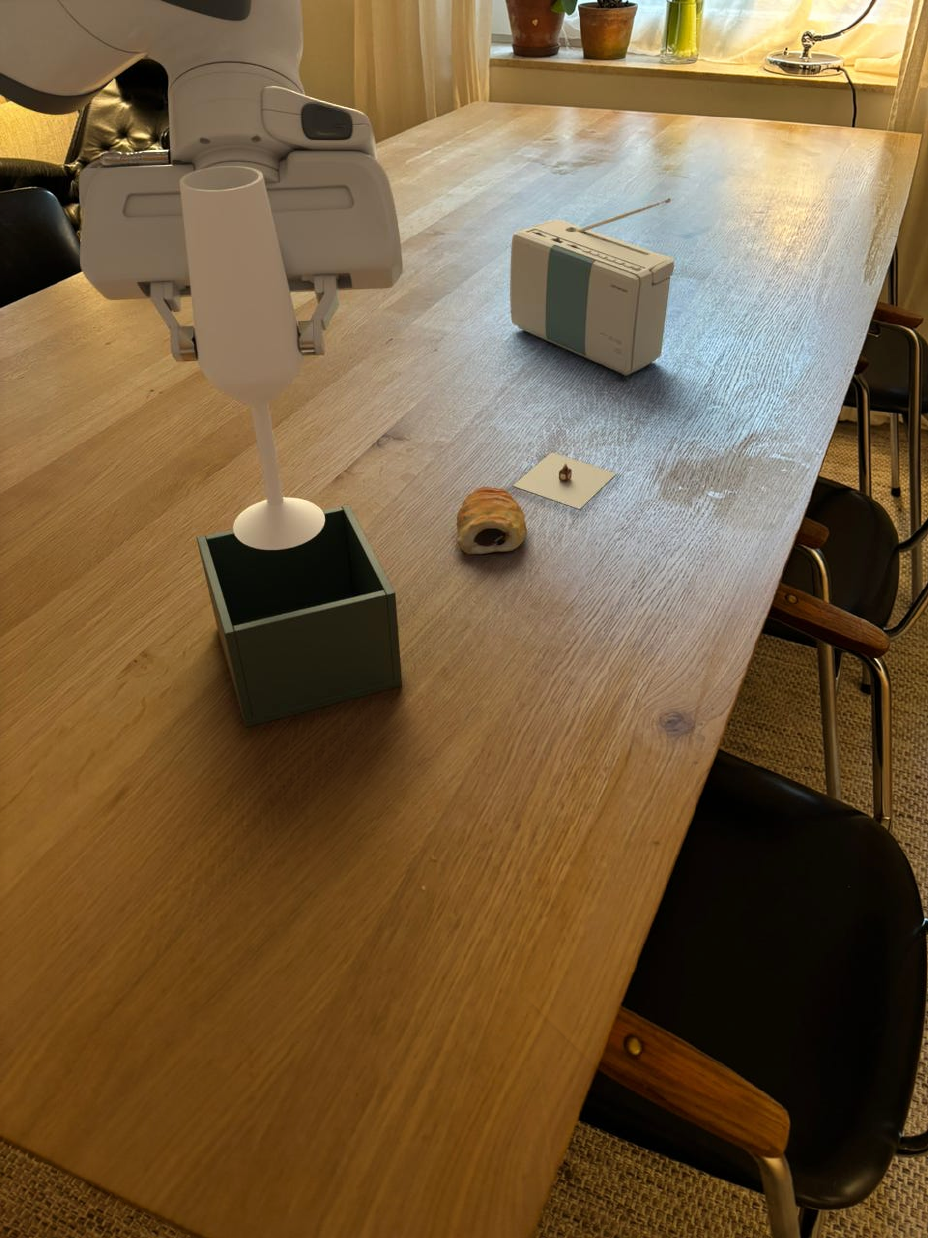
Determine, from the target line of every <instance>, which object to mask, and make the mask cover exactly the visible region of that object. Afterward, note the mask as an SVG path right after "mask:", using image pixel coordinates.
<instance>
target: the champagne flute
mask: <svg viewBox="0 0 928 1238" xmlns="http://www.w3.org/2000/svg"><path fill="white" fill-rule="evenodd" d="M180 192H181V201H182V211H183V220H184V230H185V240H186V249H187V259H188V268H189V278H190V288H191V297H190V298H191V305H192V316H193V323H194V325H193V327H194V328H195V336H196V345H197V355H198V361H197V364H198V366H199V368H200V371H201V373H202V374H203V375H204V377H205V378H206V379H207V380H208V381H209V382H210V383H211V384H212V385H213V386H214V387H215V388H216V389H217V390H218V391H220V393H223V394H225V395H226V396H228V397H230V398H231V399H233V400H235V401H236V402H238V403H240V404H241V405H244V406H247V407H248V406H249V407H250V410H251V417H252V422H253V428H254V434H255V438H256V445H257V451H258V456H259V461H260V468H261V473H262V479H263V485H264V491H265V497H266V499H264V500H261V501H259V502H256V503H254V504H252V505H250V506H248V507H247V508H245V509H244V510H242V511H241V512H240V513H239V514H238V516H236V518H235V520H234V522H233V525H232V529H233V531H234V534H235V536H236V537H237V539H238V540H239V541H241V542H242V543H243V544H245V545H248V546H250V547H253V548H257V549H264V550H280V549H287V548H291V547H295V546H298V545H301V544H303V543H305V542H307V541H309V540H311V539H312V538H313V537H315V536H316V535H317V534H318V533H319V532H320V531H321V529H322V528H323V526H324V523H325V516H324V513H323V511H322V510H323V509H321V508H320V506H318V505H316V503H314V502H311V501H309V500H306V499H303V498H297V497H287V496H284V492H283V486H282V480H281V475H280V467H279V462H278V455H277V449H276V444H275V437H274V432H273V425H272V424H273V423H272V420H271V411H270V406H269V404H271V403H273V402H274V401H276V400H277V399H278V398H279V397H280V396H281V395H282V394H283V393H284V392H285V391H286V389H288V387H289V386H290V385H291V384H292V383H293V382H294V380H295V378H296V377H297V375H298V373H299V371H300V369H301V366H302V364H303V360H304V356H303V355H302V352H300V347H299V337H300V335H299V331H298V320H297V316H296V312H295V309H294V304H293V300H292V295H291V292H290V290H289V286H288V282H287V277H286V273H285V269H284V264H283V260H282V256H281V251H280V247H279V243H278V238H277V234H276V230H275V225H274V221H273V217H272V212H271V208H270V204H269V199H268V195H267V191H266V186H265V182H264V178H263V174H262V173H261V172H260V171H259V170H256V169H254V168H249V167H243V166H219V167H210V168H205V169H201V170H197V171H194V172H191V173H188V174H186V175H185V176H183V177H182V178H181V179H180Z"/></svg>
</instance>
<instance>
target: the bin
mask: <svg viewBox="0 0 928 1238" xmlns="http://www.w3.org/2000/svg"><path fill="white" fill-rule="evenodd" d="M321 510H322V511H323V513H324V516H325V523H324V526H323V528H322V529H321V531H320V532H319V533H318V534H317V535H316V536H315V537H313V538H312V539H311V540H309V541H307V542H305V543H303V544H301V545H298V546H295V547H291V548H287V549H280V550H264V549H257V548H253V547H250V546H248V545H245V544H243V543H242V542H241V541H239V540H238V539H237V537H236V536H235V534H234V531H233V528H232V529H227V530H224V531H218V532H215V533H209V534H205V535H201V536H196V542H197V546H198V550H199V554H200V560H201V564H202V569H203V572H204V576H205V577H204V578H205V581H206V585H207V589H208V593H209V598H210V602H211V606H212V611H213V615H214V619H215V625H216V628H217V632H218V635H219V639H220V642H221V646H222V650H223V653H224V657H225V660H226V664H227V668H228V671H229V674H230V678H231V681H232V685H233V688H234V691H235V695H236V698H237V702H238V706H239V710H240V712H241V713H240V714H241V716H242V719H243V722H244V727H245V728H250V727H253V726H258V725H261V724H265V723H269V722H273V721H276V720H281V719H284V718H288V717H292V716H295V715H299V714H302V713H306V712H310V711H315V710H318V709H321V708H324V707H329V706H332V705H336V704H340V703H343V702H347V701H351V700H355V699H358V698H362V697H366V696H370V695H373V694H377V693H381V692H385V691H388V690H391V689H396V688H399V687H402V686H403V676H402V663H401V649H400V636H399V625H398V610H397V609H398V608H397V596H396V595H397V594H396V591H395V589H394V588H393V586H392V583H391V581H390V579H389V577H388V576H387V574H386V572H385V570H384V568H383V566H382V564H381V562H380V561H379V558H378V557H377V555H376V553H375V551H374V549H373V547H372V545H371V543H370V541H369V539H368V538H367V536H366V534H365V531H364V529H363V527H362V525H361V524H360V522H359V520H358V518H357V516H356V514H355V512H354V511H353V508H352V506H351V504H344V505H340V506H336V507H331V508H326V509H321Z"/></svg>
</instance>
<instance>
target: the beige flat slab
mask: <svg viewBox="0 0 928 1238" xmlns="http://www.w3.org/2000/svg"><path fill="white" fill-rule="evenodd" d="M616 475H617V473H616V472H613V471H610V470H606V469H605V468H601V467H598V466H594V465H591V464H589V463H586V462H582V461H580V460H576V459H573V458H570V457H567V456H564V455H561V454H558V453H556V452H550V453H549V454H547V455H546V456H545V457H544V458H543V459H542V460H540V462H538V463H537V464H536V465H535V466H533V467H532V468H531V469H530V470H529V471H528V472H527V473H526V474H524V475H523V476H522V477H521V478H519V479H518V480H517V481H516V482H515V483H514V484H512V486H513V487H515V488H517V489H521V490H523V491H526V492H530V493H533V494H536V495H538V496H540V497H544V498H546V499H549V500H553V501H554V502H557V503H562V504H563V505H567V506H568V507H572V508H575V509H578V510H580V509H582V508H583V507H584V505H586V504H587V503H588V502H589V501H590V500H591V499H592V498H593V497H594V496H595V495H596V494H597V493H599V491H600V490H602V488H603V487H605V485H606V484H607V483H609V482H610V481H611V480H612V479H613V478H614V477H615V476H616Z"/></svg>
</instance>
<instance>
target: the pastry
mask: <svg viewBox="0 0 928 1238" xmlns="http://www.w3.org/2000/svg"><path fill="white" fill-rule="evenodd" d="M456 530H457V539H456V544H457V546H458V547H459V548H460V549H461V550H462V551H463V553H465V554H466V555H467V554H468V555H484V554H490V553H496V552H497V553H498V552H499V553H501V552H502V553H503V552H511V551H514V550H515V549H517V548H518V547H519V546H520V545H522V543H523V541H524V540H525V539H526V536H527V534H528V529H527V524H526V519H525V513H524V512H523V510H522V507H521V506H520V505H519V503H518V501H517V500H515V498H514V497H513V496H512V494H511V493H510V492H508V491H507V490H506V489H504V488H497V487H490V486H481V487H478V488H476V489H475V490H474V491H473V492H471V493H469V494H467V496H466V497H465V499H464V500H463V502H462V505H461V507H460V508H459V510H458V513H457V515H456Z"/></svg>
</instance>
